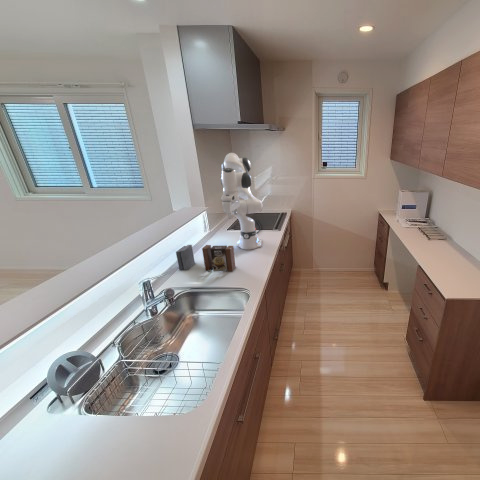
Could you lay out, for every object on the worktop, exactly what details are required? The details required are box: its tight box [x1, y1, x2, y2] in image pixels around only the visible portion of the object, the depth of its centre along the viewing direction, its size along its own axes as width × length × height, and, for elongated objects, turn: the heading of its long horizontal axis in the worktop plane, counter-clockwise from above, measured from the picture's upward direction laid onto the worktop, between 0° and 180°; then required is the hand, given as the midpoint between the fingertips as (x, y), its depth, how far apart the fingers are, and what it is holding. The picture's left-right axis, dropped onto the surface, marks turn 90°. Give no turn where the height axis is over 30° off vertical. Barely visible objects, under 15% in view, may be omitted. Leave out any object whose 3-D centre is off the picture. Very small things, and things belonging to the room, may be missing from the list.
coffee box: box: [210, 245, 228, 272], centre depth 163 cm, size 9×6×16 cm
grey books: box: [175, 244, 196, 271], centre depth 166 cm, size 10×6×14 cm, turn 179°
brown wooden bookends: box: [201, 244, 236, 272], centre depth 163 cm, size 6×18×16 cm, turn 89°
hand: (233, 216), depth 159 cm, fingers open, 8 cm apart
